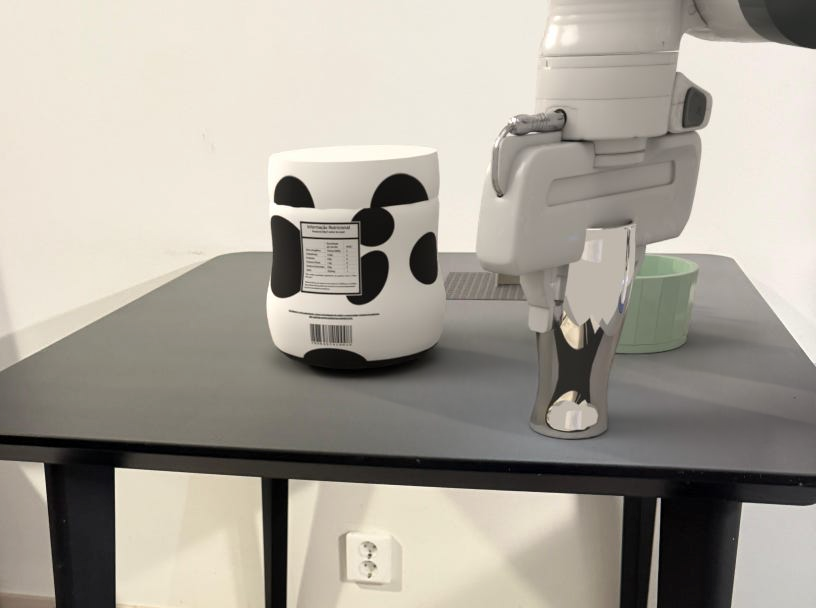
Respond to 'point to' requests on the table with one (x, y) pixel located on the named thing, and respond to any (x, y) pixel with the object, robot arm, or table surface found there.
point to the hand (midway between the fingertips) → (579, 319)
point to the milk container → (355, 255)
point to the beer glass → (585, 335)
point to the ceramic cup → (659, 305)
